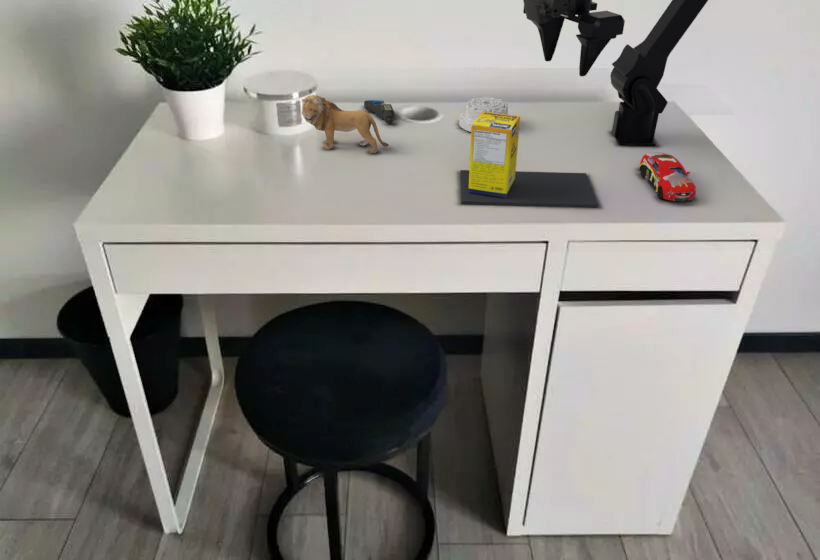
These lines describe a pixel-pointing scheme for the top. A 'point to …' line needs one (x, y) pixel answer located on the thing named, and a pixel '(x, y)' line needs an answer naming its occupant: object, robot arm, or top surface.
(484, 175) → the supplement box
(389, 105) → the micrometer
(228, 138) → the top surface
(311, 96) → the lion figurine
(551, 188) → the desk pad
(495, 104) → the mechanical component
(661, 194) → the race car
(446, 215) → the top surface
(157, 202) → the top surface
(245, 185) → the top surface
